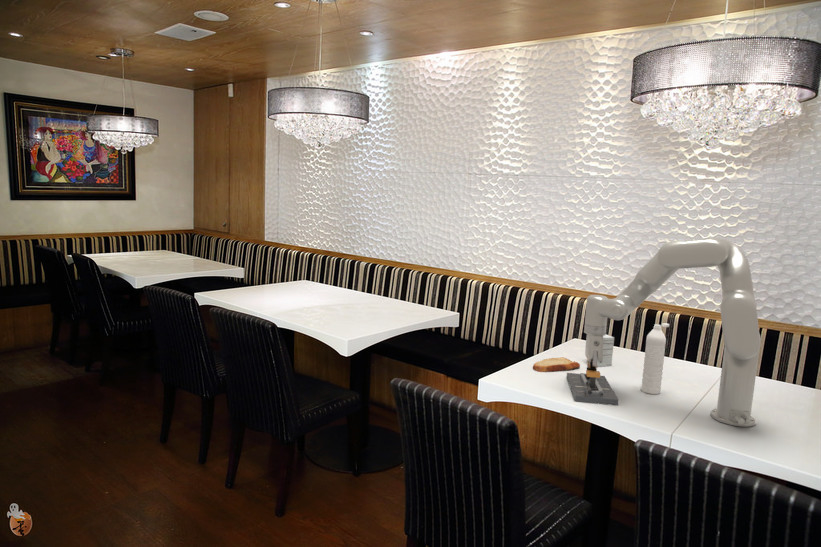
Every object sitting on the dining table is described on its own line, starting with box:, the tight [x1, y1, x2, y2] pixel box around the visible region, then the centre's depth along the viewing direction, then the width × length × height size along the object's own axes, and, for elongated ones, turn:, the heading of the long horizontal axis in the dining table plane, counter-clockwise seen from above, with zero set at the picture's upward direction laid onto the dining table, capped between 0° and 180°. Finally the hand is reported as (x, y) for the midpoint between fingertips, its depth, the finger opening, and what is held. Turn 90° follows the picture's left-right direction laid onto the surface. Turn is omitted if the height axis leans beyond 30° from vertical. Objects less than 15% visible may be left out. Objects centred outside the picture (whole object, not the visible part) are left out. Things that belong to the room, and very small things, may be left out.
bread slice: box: [532, 356, 581, 373], centre depth 230 cm, size 18×18×4 cm
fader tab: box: [585, 369, 601, 388], centre depth 201 cm, size 3×4×6 cm, turn 81°
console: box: [566, 372, 619, 406], centre depth 204 cm, size 26×14×3 cm, turn 171°
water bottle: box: [640, 322, 670, 395], centre depth 205 cm, size 9×6×25 cm
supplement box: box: [586, 333, 615, 368], centre depth 237 cm, size 7×7×13 cm
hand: (590, 378), depth 205 cm, fingers closed
